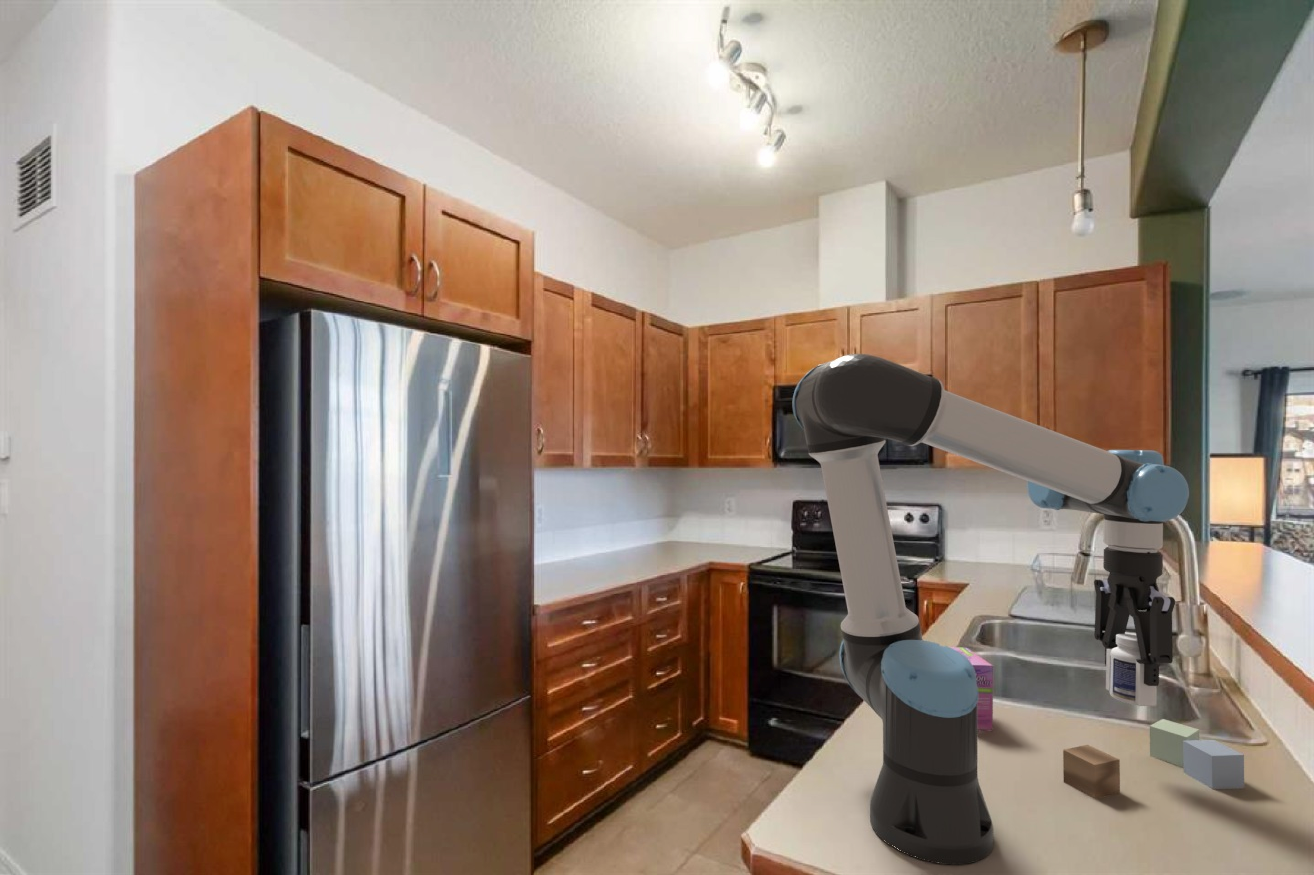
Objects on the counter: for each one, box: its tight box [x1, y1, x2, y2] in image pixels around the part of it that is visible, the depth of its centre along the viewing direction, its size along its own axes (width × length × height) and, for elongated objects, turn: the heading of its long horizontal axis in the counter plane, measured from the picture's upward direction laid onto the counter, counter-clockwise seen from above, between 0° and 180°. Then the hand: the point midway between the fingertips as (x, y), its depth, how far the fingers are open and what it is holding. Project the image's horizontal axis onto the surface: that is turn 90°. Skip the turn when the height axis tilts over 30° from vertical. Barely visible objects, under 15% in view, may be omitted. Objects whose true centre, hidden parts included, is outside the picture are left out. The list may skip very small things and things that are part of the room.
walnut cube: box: [1062, 744, 1121, 800], centre depth 98 cm, size 5×5×5 cm
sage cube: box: [1149, 718, 1200, 768], centre depth 107 cm, size 5×5×5 cm
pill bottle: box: [1109, 633, 1150, 706], centre depth 103 cm, size 5×5×10 cm
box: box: [949, 646, 994, 732], centre depth 123 cm, size 10×6×12 cm, turn 179°
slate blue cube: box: [1182, 739, 1245, 790], centre depth 100 cm, size 5×5×5 cm
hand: (1130, 697), depth 103 cm, fingers closed on pill bottle, 5 cm apart
